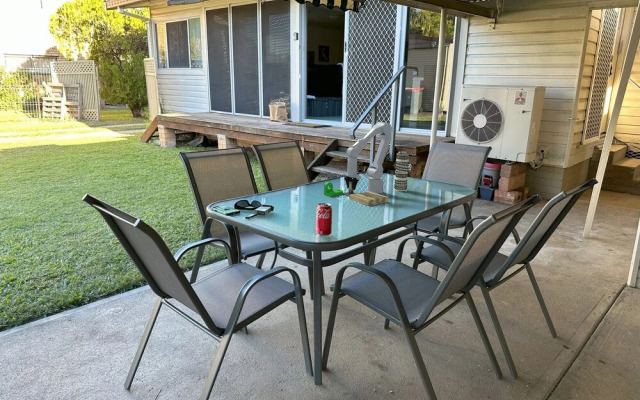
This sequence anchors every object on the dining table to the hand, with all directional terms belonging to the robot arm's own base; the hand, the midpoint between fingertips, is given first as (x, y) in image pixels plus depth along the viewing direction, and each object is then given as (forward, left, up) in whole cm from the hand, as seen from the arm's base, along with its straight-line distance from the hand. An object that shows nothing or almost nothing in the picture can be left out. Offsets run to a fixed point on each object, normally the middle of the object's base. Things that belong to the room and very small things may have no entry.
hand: (351, 189), depth 264 cm
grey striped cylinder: (-36, +7, -4) cm, 37 cm away
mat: (0, 0, -3) cm, 3 cm away
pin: (0, 0, -3) cm, 3 cm away
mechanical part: (+9, -5, -3) cm, 11 cm away
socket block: (+1, +17, -3) cm, 17 cm away
